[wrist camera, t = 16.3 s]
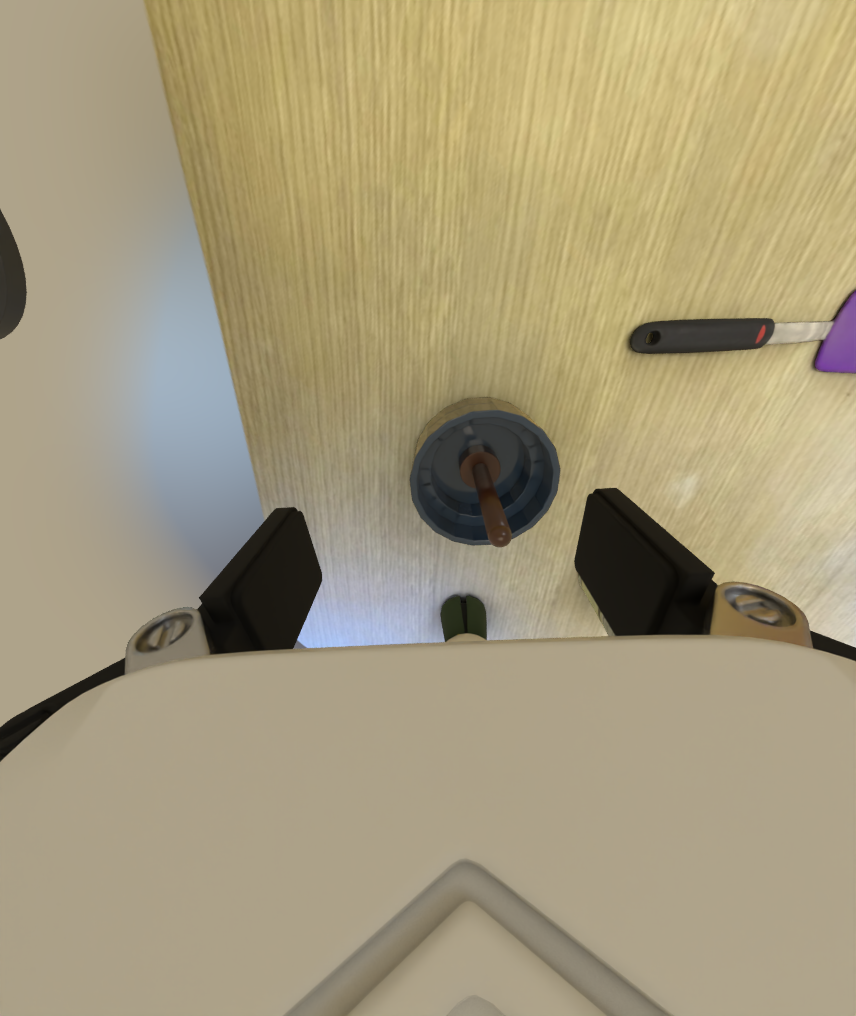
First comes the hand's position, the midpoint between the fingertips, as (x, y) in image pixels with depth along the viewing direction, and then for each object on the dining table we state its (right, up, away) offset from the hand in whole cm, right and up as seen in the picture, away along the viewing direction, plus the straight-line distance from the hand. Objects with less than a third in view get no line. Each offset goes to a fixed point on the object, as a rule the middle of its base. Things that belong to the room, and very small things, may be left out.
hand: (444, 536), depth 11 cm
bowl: (+5, +6, +23) cm, 24 cm away
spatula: (+29, +16, +16) cm, 37 cm away
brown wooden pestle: (+5, +6, +22) cm, 23 cm away
